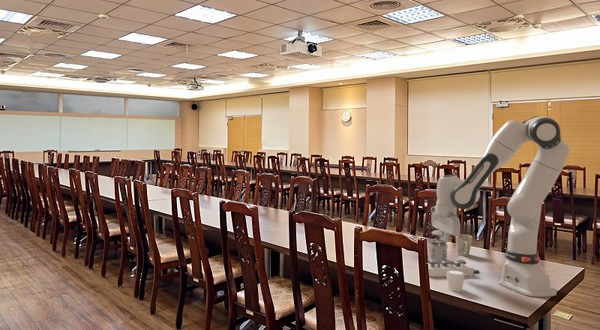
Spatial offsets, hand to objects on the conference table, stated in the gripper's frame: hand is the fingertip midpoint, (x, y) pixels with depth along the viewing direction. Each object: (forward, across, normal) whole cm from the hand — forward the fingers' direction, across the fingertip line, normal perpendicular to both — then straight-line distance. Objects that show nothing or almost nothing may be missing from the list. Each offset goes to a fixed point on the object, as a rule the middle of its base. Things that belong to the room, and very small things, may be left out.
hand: (444, 241), depth 198 cm
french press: (+15, +22, -9) cm, 28 cm away
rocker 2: (+10, 0, -8) cm, 13 cm away
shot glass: (+15, -20, +5) cm, 26 cm away
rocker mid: (+10, 0, -1) cm, 10 cm away
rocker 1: (+10, 0, +5) cm, 11 cm away
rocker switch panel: (+15, 0, -4) cm, 15 cm away
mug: (+15, +29, -27) cm, 42 cm away
